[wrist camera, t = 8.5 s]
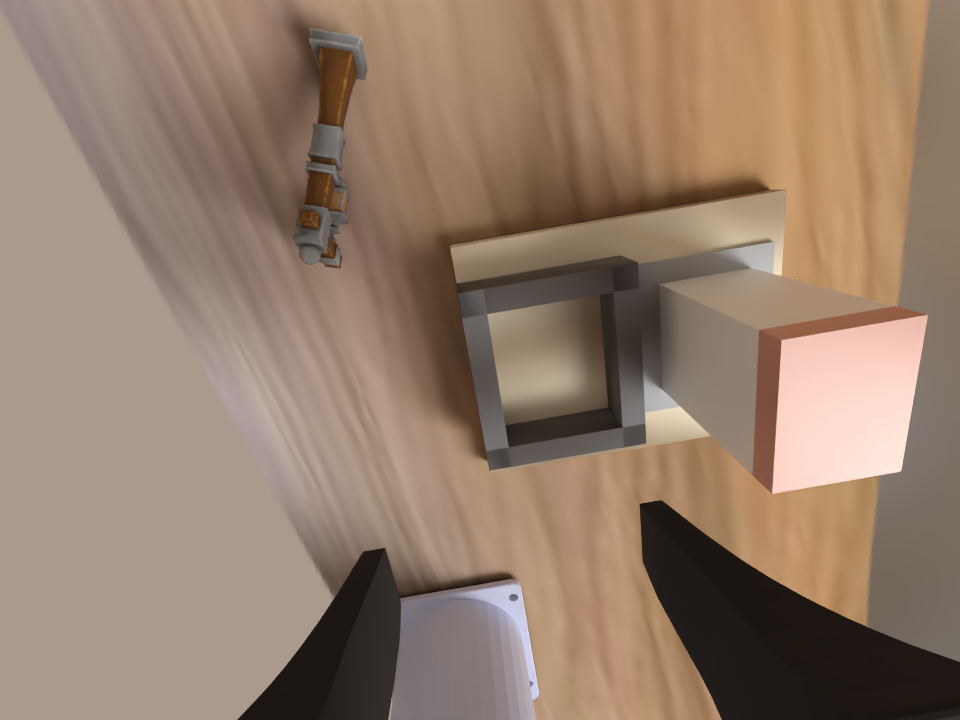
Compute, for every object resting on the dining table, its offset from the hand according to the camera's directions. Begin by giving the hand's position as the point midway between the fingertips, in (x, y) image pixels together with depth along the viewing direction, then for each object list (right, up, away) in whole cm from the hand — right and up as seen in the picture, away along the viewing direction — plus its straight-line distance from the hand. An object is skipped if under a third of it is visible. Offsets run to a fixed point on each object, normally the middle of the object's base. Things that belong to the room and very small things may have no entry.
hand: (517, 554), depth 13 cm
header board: (+5, +6, +9) cm, 12 cm away
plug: (+9, +7, +8) cm, 14 cm away
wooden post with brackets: (-6, +14, +6) cm, 16 cm away
